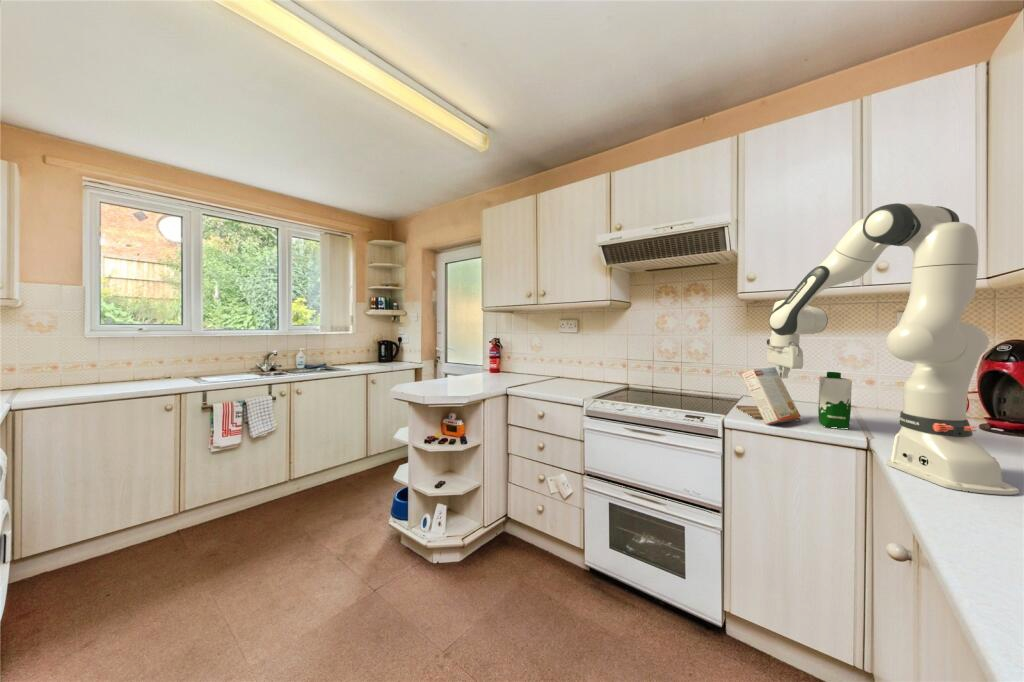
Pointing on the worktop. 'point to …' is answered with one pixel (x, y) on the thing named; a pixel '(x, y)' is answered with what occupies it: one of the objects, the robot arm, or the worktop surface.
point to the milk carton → (834, 400)
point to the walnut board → (753, 411)
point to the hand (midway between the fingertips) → (783, 377)
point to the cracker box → (770, 395)
